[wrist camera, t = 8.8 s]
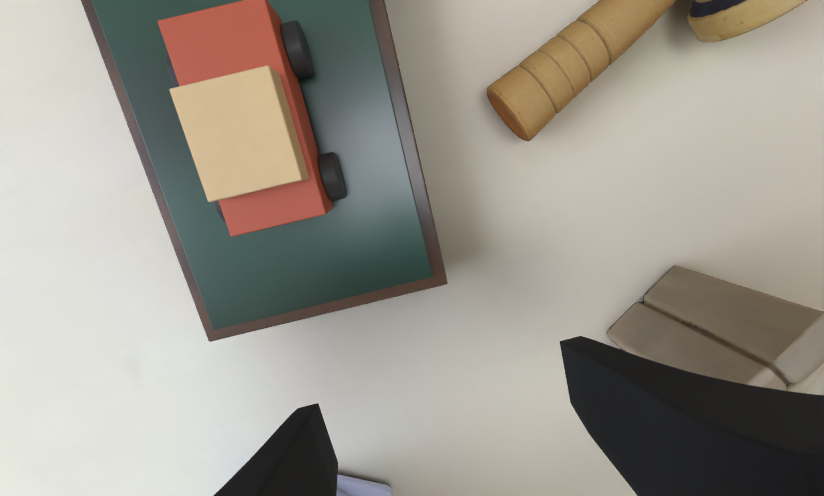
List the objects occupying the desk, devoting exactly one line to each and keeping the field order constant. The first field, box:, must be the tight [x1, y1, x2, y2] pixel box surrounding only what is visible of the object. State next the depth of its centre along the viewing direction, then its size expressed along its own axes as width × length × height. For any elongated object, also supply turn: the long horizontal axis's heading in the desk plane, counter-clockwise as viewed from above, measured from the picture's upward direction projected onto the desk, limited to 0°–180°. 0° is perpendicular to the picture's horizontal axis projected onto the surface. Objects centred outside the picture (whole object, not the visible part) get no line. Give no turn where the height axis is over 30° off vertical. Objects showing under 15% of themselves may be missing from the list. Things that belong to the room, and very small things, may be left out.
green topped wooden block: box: [81, 0, 447, 341], centre depth 17 cm, size 16×11×3 cm
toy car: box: [158, 0, 346, 237], centre depth 14 cm, size 7×5×4 cm, turn 13°
